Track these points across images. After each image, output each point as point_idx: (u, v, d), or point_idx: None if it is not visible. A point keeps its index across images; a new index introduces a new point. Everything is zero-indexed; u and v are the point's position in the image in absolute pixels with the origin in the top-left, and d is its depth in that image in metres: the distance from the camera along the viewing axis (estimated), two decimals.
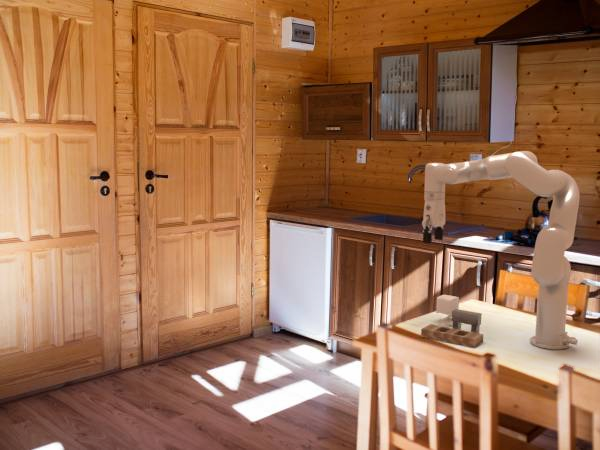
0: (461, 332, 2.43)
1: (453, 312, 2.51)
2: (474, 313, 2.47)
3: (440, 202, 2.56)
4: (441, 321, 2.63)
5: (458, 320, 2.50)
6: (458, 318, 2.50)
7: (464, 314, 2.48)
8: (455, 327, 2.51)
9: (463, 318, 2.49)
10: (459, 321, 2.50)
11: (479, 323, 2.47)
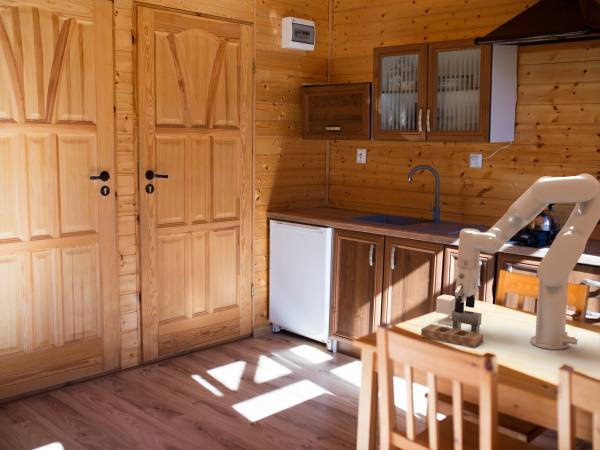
0: (461, 332, 2.43)
1: (453, 312, 2.51)
2: (474, 313, 2.47)
3: (474, 270, 2.45)
4: (441, 321, 2.63)
5: (458, 320, 2.50)
6: (458, 318, 2.50)
7: (464, 314, 2.48)
8: (455, 327, 2.51)
9: (463, 318, 2.49)
10: (459, 321, 2.50)
11: (479, 323, 2.47)
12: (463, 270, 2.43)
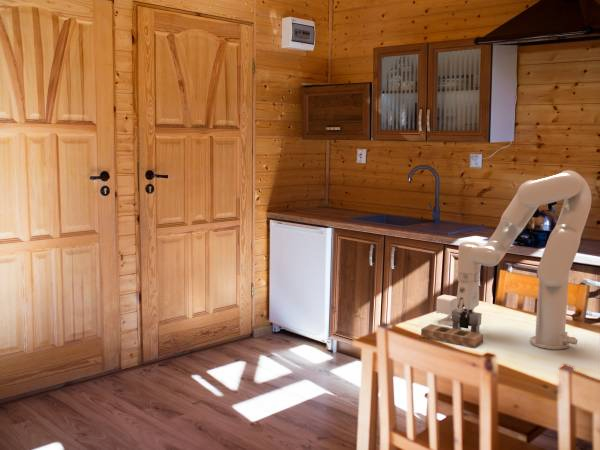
0: (461, 332, 2.43)
1: (453, 312, 2.51)
2: (474, 313, 2.47)
3: (474, 284, 2.46)
4: (441, 321, 2.63)
5: (458, 320, 2.50)
6: (458, 318, 2.50)
7: None
8: (455, 327, 2.51)
9: None
10: (459, 321, 2.50)
11: (479, 323, 2.47)
12: (463, 284, 2.44)
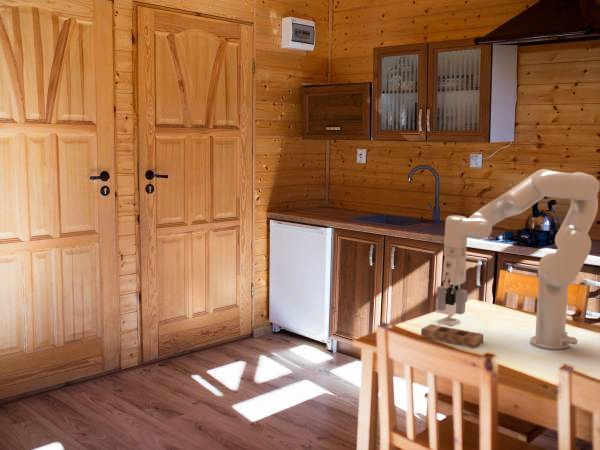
0: (461, 332, 2.43)
1: (438, 289, 2.42)
2: (460, 290, 2.39)
3: (461, 259, 2.37)
4: (441, 321, 2.63)
5: (443, 297, 2.41)
6: (443, 295, 2.41)
7: None
8: (440, 304, 2.42)
9: None
10: (444, 298, 2.41)
11: (465, 300, 2.38)
12: (450, 258, 2.35)
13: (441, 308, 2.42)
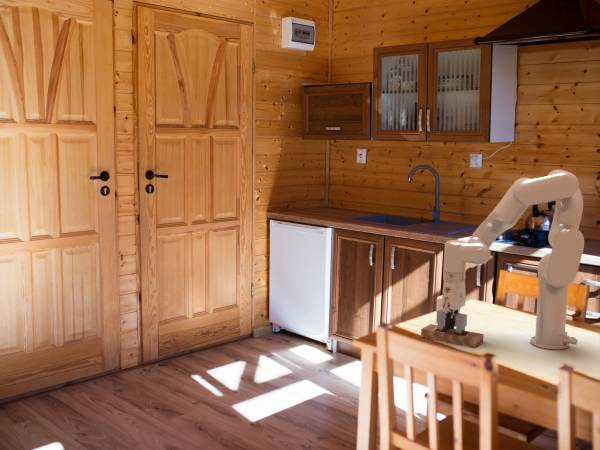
0: None
1: (438, 313, 2.43)
2: (459, 314, 2.40)
3: (460, 283, 2.38)
4: None
5: (443, 321, 2.42)
6: (443, 319, 2.42)
7: None
8: (440, 328, 2.43)
9: None
10: (444, 322, 2.42)
11: (464, 325, 2.39)
12: (449, 283, 2.36)
13: None
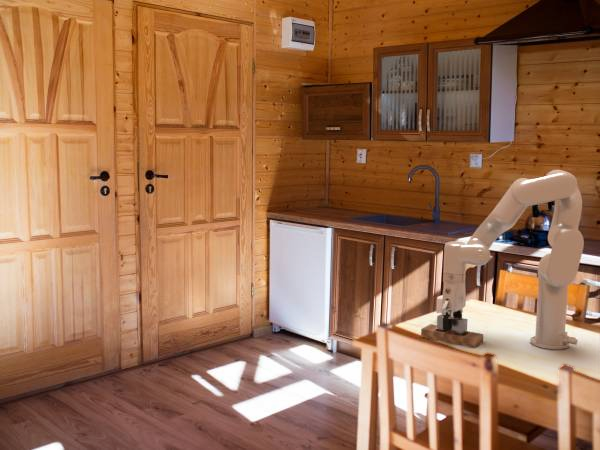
0: None
1: (438, 318, 2.43)
2: (460, 319, 2.40)
3: (460, 284, 2.38)
4: None
5: None
6: None
7: None
8: None
9: None
10: None
11: (465, 329, 2.39)
12: (449, 284, 2.36)
13: None
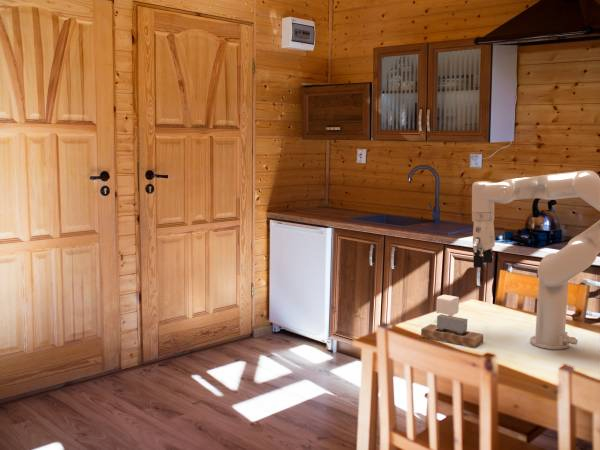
0: None
1: (438, 318, 2.43)
2: (460, 319, 2.40)
3: (490, 223, 2.40)
4: None
5: (443, 326, 2.43)
6: (444, 324, 2.42)
7: (449, 320, 2.41)
8: None
9: (449, 323, 2.41)
10: (444, 327, 2.42)
11: (465, 329, 2.39)
12: (479, 223, 2.38)
13: None
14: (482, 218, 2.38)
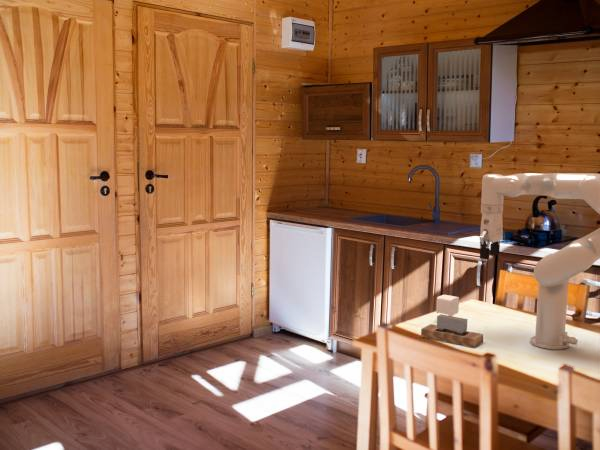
0: None
1: (438, 318, 2.43)
2: (460, 319, 2.40)
3: (498, 216, 2.42)
4: None
5: (443, 326, 2.43)
6: (444, 324, 2.42)
7: (449, 320, 2.41)
8: None
9: (449, 323, 2.41)
10: (444, 327, 2.42)
11: (465, 329, 2.39)
12: (487, 215, 2.40)
13: None
14: (490, 210, 2.40)
